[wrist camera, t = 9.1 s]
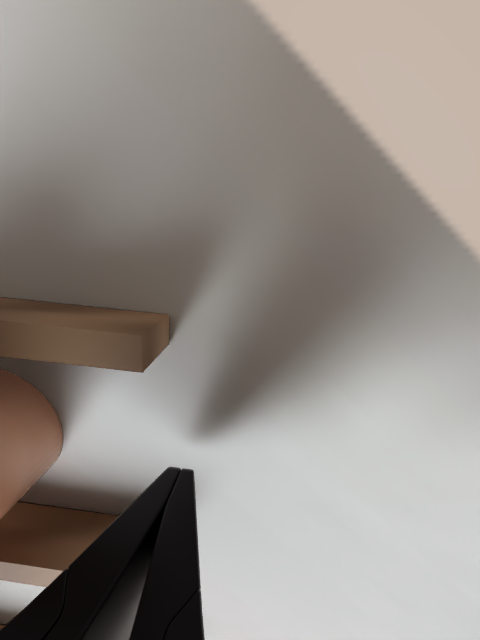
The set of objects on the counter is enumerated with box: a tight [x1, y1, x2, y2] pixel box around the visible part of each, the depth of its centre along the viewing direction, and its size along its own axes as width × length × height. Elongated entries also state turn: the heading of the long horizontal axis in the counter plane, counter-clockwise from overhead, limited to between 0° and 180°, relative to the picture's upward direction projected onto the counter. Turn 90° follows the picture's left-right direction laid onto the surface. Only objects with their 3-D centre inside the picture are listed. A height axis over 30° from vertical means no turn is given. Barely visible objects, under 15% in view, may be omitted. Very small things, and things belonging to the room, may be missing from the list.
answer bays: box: [0, 297, 169, 630], centre depth 10 cm, size 11×19×2 cm, turn 175°
